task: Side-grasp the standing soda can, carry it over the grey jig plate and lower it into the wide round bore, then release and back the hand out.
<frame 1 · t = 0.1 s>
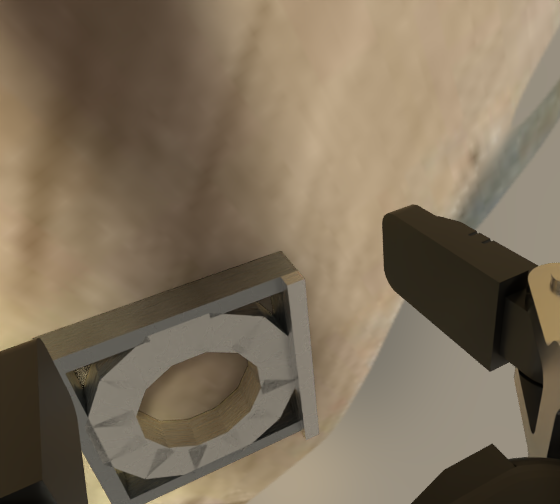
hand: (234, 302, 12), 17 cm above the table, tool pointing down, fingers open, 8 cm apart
jig: (191, 376, 37), on the table
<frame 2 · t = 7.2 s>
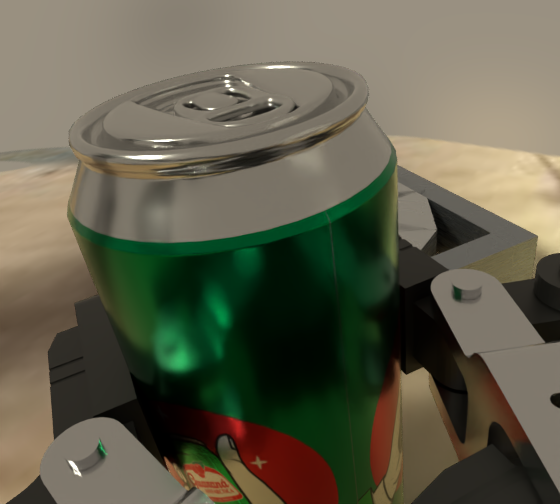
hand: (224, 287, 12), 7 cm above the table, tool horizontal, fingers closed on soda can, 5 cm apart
jig: (279, 263, 26), on the table
when the fingers open (9 cm above the table, at t = 12.3 s): soda can drops 2 cm, resting in jig.
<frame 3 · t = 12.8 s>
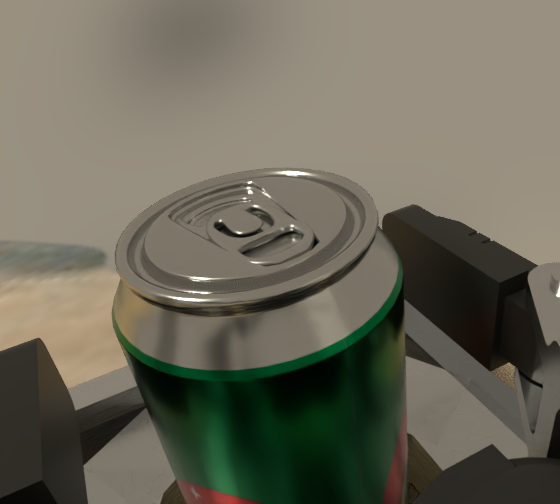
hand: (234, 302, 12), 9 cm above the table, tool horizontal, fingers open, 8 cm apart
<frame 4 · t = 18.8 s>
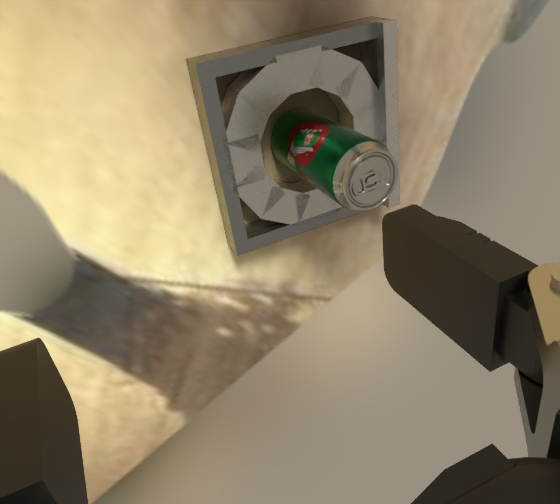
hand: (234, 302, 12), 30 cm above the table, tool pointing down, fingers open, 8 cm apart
soda can: (294, 136, 44), resting in jig
jig: (296, 135, 44), on the table
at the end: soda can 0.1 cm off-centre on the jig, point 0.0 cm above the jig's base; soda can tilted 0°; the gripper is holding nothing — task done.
